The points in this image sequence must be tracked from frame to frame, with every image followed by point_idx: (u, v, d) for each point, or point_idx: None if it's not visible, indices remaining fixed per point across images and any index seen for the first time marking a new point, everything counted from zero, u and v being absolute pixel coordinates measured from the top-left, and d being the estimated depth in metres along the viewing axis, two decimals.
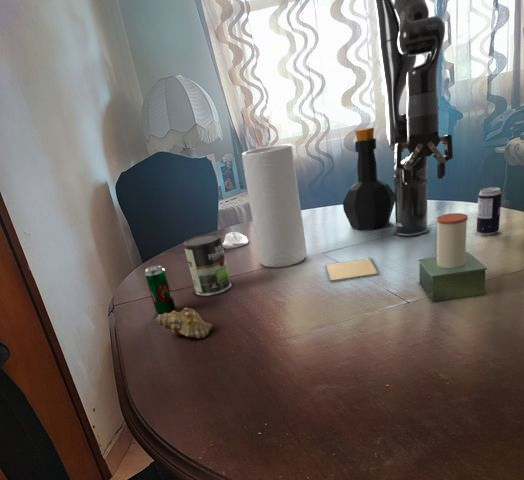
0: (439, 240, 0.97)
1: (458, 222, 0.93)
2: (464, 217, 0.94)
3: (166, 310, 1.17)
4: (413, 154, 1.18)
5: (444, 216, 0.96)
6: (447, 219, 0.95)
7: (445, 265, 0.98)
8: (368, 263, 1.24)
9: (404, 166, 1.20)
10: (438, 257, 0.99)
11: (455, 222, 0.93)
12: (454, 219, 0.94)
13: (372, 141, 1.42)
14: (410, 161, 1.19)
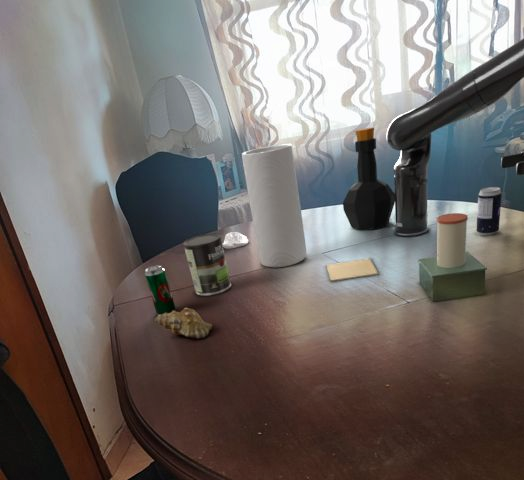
0: (439, 240, 0.97)
1: (458, 222, 0.93)
2: (464, 217, 0.94)
3: (166, 310, 1.17)
4: None
5: (444, 216, 0.96)
6: (447, 219, 0.95)
7: (445, 265, 0.98)
8: (368, 263, 1.24)
9: None
10: (438, 257, 0.99)
11: (455, 222, 0.93)
12: (454, 219, 0.94)
13: (372, 141, 1.42)
14: None
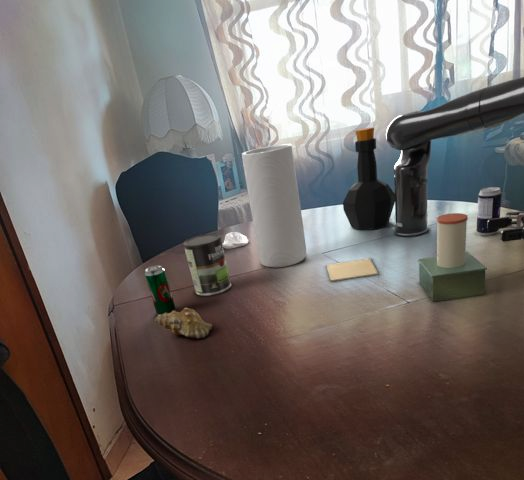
0: (439, 240, 0.97)
1: (458, 222, 0.93)
2: (464, 217, 0.94)
3: (166, 310, 1.17)
4: None
5: (444, 216, 0.96)
6: (447, 219, 0.95)
7: (445, 265, 0.98)
8: (368, 263, 1.24)
9: None
10: (438, 257, 0.99)
11: (455, 222, 0.93)
12: (454, 219, 0.94)
13: (372, 141, 1.42)
14: None
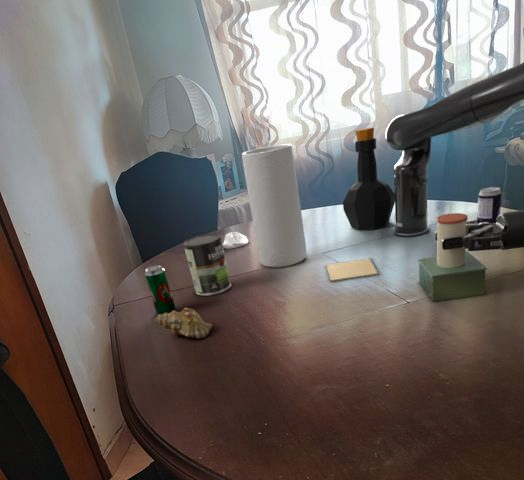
0: (439, 240, 0.97)
1: (458, 222, 0.93)
2: (464, 217, 0.94)
3: (166, 310, 1.17)
4: None
5: (444, 216, 0.97)
6: (447, 219, 0.95)
7: (445, 265, 0.98)
8: (368, 263, 1.24)
9: (466, 247, 0.94)
10: (438, 257, 0.99)
11: (455, 222, 0.93)
12: (454, 219, 0.94)
13: (372, 141, 1.42)
14: None
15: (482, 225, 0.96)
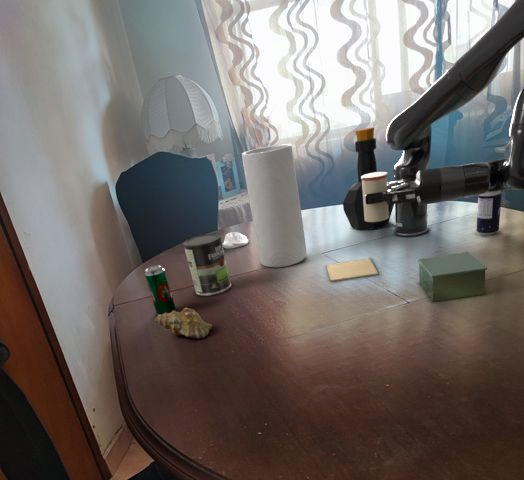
0: (364, 197, 1.07)
1: (378, 178, 1.03)
2: (384, 174, 1.03)
3: (166, 310, 1.17)
4: None
5: (368, 174, 1.06)
6: (369, 176, 1.04)
7: (370, 219, 1.08)
8: (368, 263, 1.24)
9: (386, 202, 1.04)
10: (364, 213, 1.09)
11: (375, 178, 1.03)
12: (375, 176, 1.03)
13: (372, 141, 1.42)
14: (391, 201, 1.05)
15: (402, 182, 1.06)
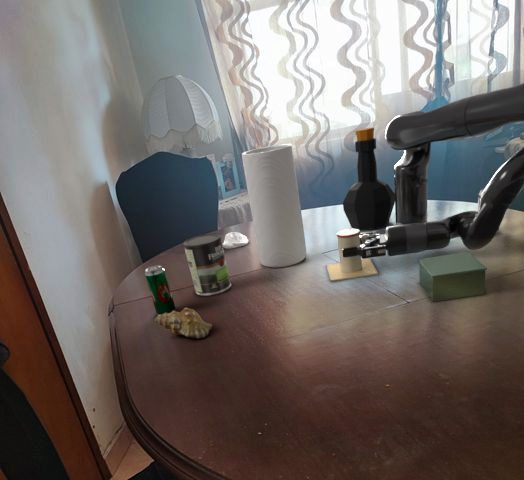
0: (339, 250, 1.20)
1: (351, 236, 1.16)
2: (356, 232, 1.17)
3: (166, 310, 1.17)
4: None
5: (343, 231, 1.19)
6: (343, 233, 1.18)
7: (345, 270, 1.21)
8: (368, 263, 1.24)
9: None
10: (340, 264, 1.22)
11: (348, 236, 1.16)
12: (348, 233, 1.17)
13: (372, 141, 1.42)
14: None
15: (373, 236, 1.19)
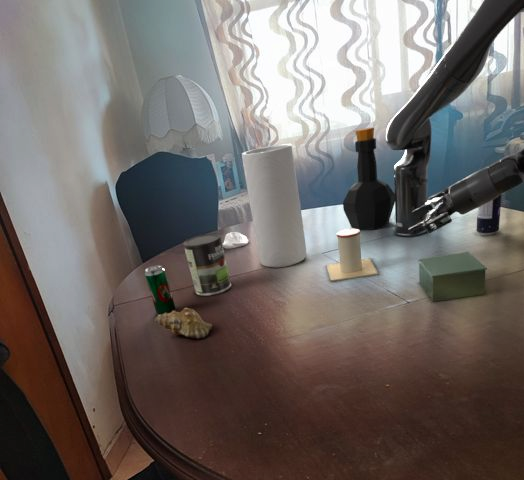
0: (339, 250, 1.20)
1: (351, 236, 1.16)
2: (356, 232, 1.17)
3: (166, 310, 1.17)
4: None
5: (343, 231, 1.19)
6: (343, 233, 1.18)
7: (345, 270, 1.21)
8: (368, 263, 1.24)
9: None
10: (340, 264, 1.22)
11: (348, 236, 1.16)
12: (348, 233, 1.17)
13: (372, 141, 1.42)
14: None
15: (439, 200, 1.13)
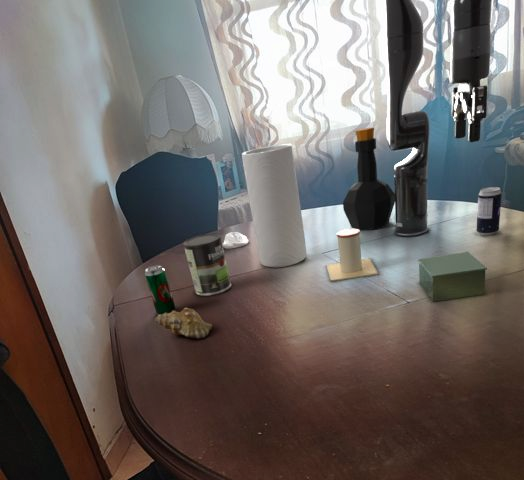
0: (339, 250, 1.20)
1: (351, 236, 1.16)
2: (356, 232, 1.17)
3: (166, 310, 1.17)
4: None
5: (343, 231, 1.19)
6: (343, 233, 1.18)
7: (345, 270, 1.21)
8: (368, 263, 1.24)
9: None
10: (340, 264, 1.22)
11: (348, 236, 1.16)
12: (348, 233, 1.17)
13: (372, 141, 1.42)
14: None
15: (459, 99, 1.00)
